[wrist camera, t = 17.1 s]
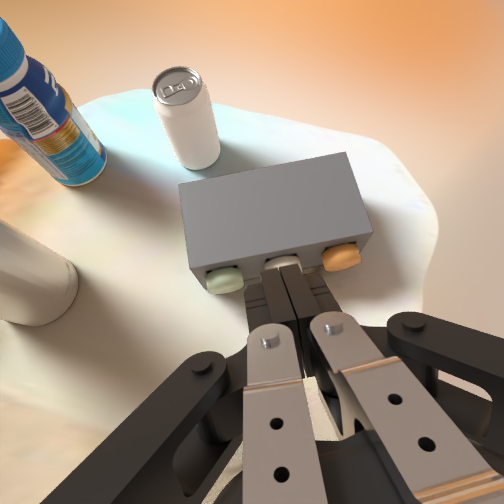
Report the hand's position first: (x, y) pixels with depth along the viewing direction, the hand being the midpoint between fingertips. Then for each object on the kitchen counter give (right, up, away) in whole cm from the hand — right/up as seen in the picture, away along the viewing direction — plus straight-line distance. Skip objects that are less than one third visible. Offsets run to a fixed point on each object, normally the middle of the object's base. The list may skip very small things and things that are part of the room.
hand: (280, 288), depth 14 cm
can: (-9, +16, +36) cm, 41 cm away
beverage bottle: (-26, +14, +37) cm, 47 cm away
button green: (-4, -1, +27) cm, 27 cm away
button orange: (+9, +2, +27) cm, 29 cm away
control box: (+1, +3, +31) cm, 31 cm away
